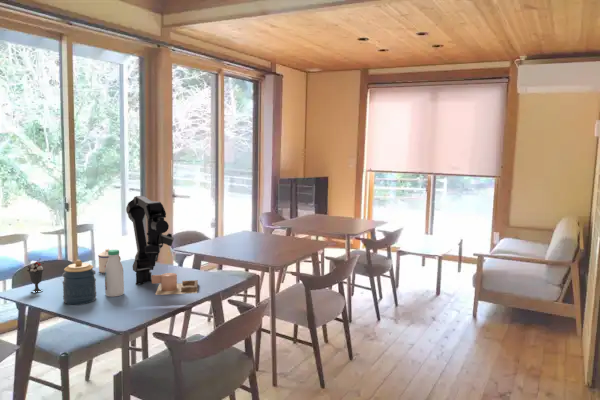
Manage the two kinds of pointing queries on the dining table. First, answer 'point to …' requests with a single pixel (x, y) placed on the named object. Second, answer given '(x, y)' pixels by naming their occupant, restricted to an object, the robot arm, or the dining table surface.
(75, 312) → the dining table surface
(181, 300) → the dining table surface
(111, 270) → the milk bottle
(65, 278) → the canister
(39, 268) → the sundae
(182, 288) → the cradle
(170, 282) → the peach dome with handle
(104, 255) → the teacup with lid
